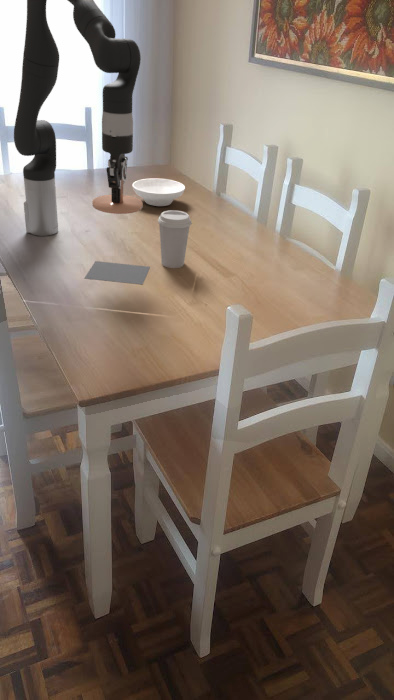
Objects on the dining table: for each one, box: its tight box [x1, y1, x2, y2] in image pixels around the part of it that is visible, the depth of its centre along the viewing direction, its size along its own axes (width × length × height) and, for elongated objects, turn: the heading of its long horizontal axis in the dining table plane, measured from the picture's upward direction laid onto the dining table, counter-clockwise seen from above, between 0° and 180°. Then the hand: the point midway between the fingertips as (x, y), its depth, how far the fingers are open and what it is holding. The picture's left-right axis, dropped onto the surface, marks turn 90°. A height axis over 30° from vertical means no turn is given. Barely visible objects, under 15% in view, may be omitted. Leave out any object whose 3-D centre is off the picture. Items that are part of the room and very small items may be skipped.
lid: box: [91, 179, 144, 215], centre depth 148 cm, size 13×13×7 cm
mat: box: [84, 260, 151, 285], centre depth 160 cm, size 16×12×1 cm
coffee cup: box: [157, 209, 193, 269], centre depth 164 cm, size 10×10×15 cm
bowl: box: [131, 177, 186, 207], centre depth 213 cm, size 20×20×7 cm
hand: (117, 200), depth 149 cm, fingers closed on lid, 2 cm apart
